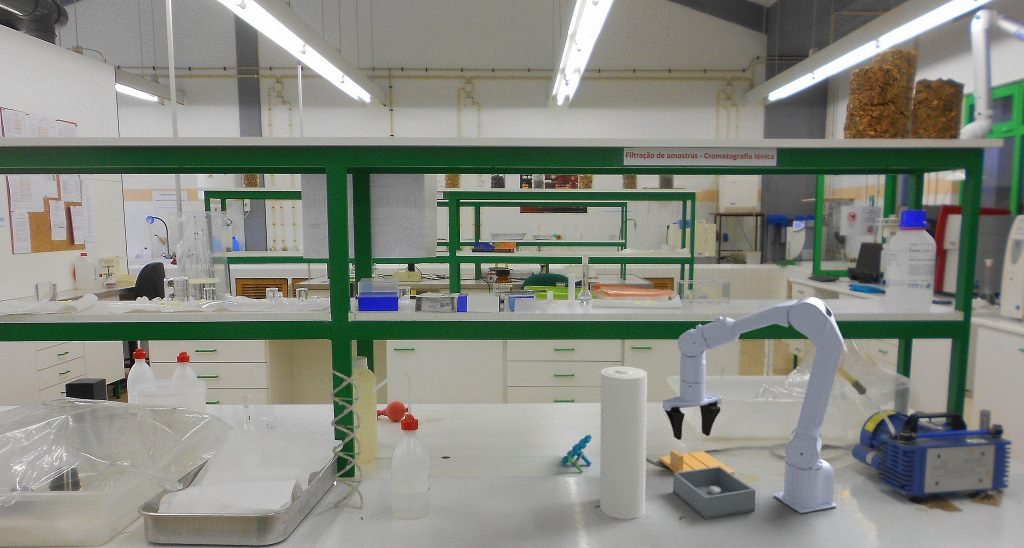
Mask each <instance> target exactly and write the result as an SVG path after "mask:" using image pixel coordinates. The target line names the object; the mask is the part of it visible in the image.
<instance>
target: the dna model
mask: <svg viewBox="0 0 1024 548" xmlns="http://www.w3.org/2000/svg"><path fill="white" fill-rule="evenodd" d="M331 372H332V373H333V374H335V375H337V376H338V377H339V378H343V379H344V381H343V382H342V384H340V386H338V387H337V388H336V389H334V390H333V391H331V393H330V395H329V397H330V398H331V400H334V401H335V402H337V403H338V405H339V406H340V405H341V406H342V405H343V406H345V409H344V410H343V412H342V413H340V414H339V415H338V416H337V417H336V418H333V419H332V421H331V423H330V424H331V426H332V427H333V428H336V429H338V430H340V431H342V432H344V433H347V434H346V437H345V439H344V440H343V441H341V442H340V443H339V444H338V445H335V446H333V448H332V453H333V454H334V455H337V456H338V457H342V458H345V459H346V460H348V462H347V465H346V466H345V468H344V469H343V470H341V471H338V472H337V473H335V475H334V476H333V478H332V479H333V480H334V481H336V482H339V483H341V485H346V486H348V487H350V488H349V489H348V492H347V494H346V495H345V496H344V497H343V498H341V499H339V500H338V501H336V502H335V503H334V507H337V506H338V507H339V504H341V503H342V502H344V501H346V500H347V499H348V498H349V497H351V496H352V495H353V494H354V493H355V492H357V494H358V495H359V497H360V499H359V500H360V509H363V508H364V497H363V494H362V492H361V491H360V490H359V487H360V486H361V484H362V482H363V481H362V480H363V478H364V477H363V475H364V474H363V470H362V469H363V468H362V467H361V466H360V464H359V462H357V461H358V460H359V459H360V456H361V454H362V449H363V448H362V447H363V446H362V443H361V441H360V439H359V438H358V437H357V435H356V434H357V433H358V431H359V430H360V427H361V419H362V418H361V416H360V413H359V412H358V411H357V410H356V409H355V407H356V405H357V404H358V403H359V400H360V396H361V394H360V393H361V392H360V388H359V386H357V384H356V383H355V382H354V381H353V379H354V377H355V376H356V375H357V374H358V373H357V371H354V373H353V374H351V376H350V377H348V376H345V375H344V374H342V373H340V372H338V371H335V370H334V369H332V370H331ZM348 384H351V385H352V386H353V387H354V388H355V390H356V398H347V397H334V394H335V393H337V392H338V391H339V390H341V389H342V388H344V387H345V386H346V385H348ZM342 400H346V401H347V400H348V401H354V402H353V403H352V404H351V405H350V404H348V403H347V402H345V401H342ZM349 412H352V413H354V414H355V415H356V417H357V425H346V428H355V429H354V431H353V432H351V429H350V430H348V429H346V428H345V425H344V424H343V425H342V424H336V422H337V421H339V419H341V418H342V417H344V416H345V415H347V414H348V413H349ZM352 438H353V439H354V440H355V441H356V443H357V444H358V452H345V451H337V449H339V448H340V447H342V446H343V445H345V444H347V442H349V441H350V440H351V439H352ZM348 455H354V456H355V455H356V456H355V459H353V458H352V457H350V456H348ZM350 462H351V463H350ZM354 465H355V467H357V469H358V471H359V480H349V479H341V478H338V477H339V476H340V475H343V474H344V473H345V472H348V470H349V469H351V468H352V467H353V466H354ZM352 483H356V486H355V484H352Z"/></svg>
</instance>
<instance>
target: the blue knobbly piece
mask: <svg viewBox="0 0 1024 548" xmlns="http://www.w3.org/2000/svg"><path fill="white" fill-rule="evenodd" d="M592 437H593V436H592V435H591V434H587V435H585V436H584V437H583V438H581V439H580V440H579V441H578V442H577V443H576V444H574V445H573V446H572V447H571V448H572V449H571V450H570V449H569V450H568V451H567V452H566V455H564V457H562V459H561V462H560V463H561V465H563V466H566V465H567V464H570V465H571V466H572V468H576V469H577V470H578V472H579V473H581V474H583V472H584V470H583V469H582V468H581V466H580V465H578V464H579V462H580V460H581V459H582V461H584V463H585V464H586V465H587V466H588V467H590V466H591V465H592V462H591V461H590V459H588V458H587V456H586V455H585V453H584V451H583V450H584V449H585V448H586V447H587V444H589V443H590V442H591V441H592ZM575 457H576V458H575Z"/></svg>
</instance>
